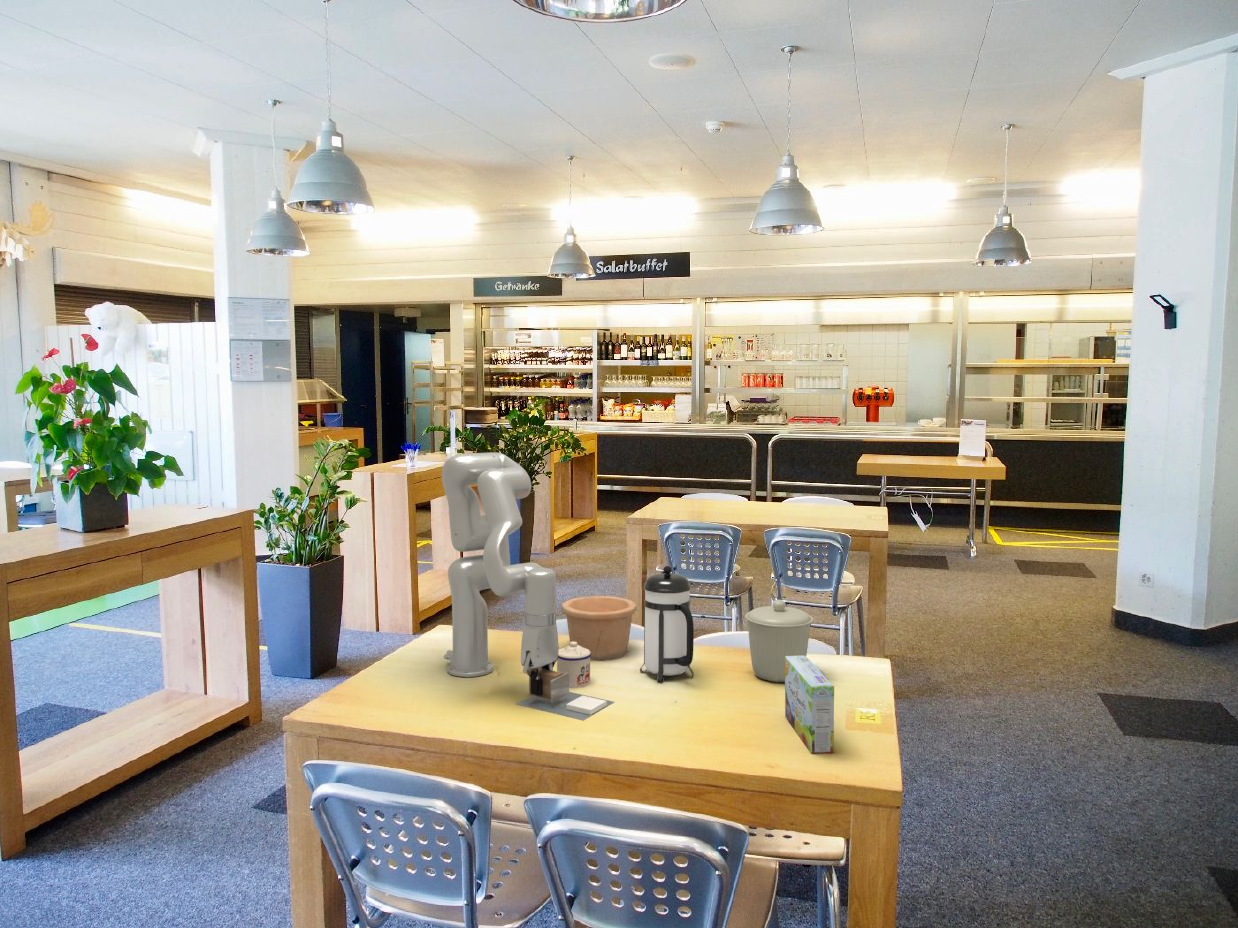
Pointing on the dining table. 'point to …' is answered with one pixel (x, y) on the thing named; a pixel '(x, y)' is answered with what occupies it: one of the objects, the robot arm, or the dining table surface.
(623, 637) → the pottery
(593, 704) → the tile
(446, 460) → the robot arm
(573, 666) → the teacup with lid
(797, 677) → the snack box
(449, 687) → the dining table surface
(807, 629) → the canister
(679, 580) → the coffee press
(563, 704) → the slate board
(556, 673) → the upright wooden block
